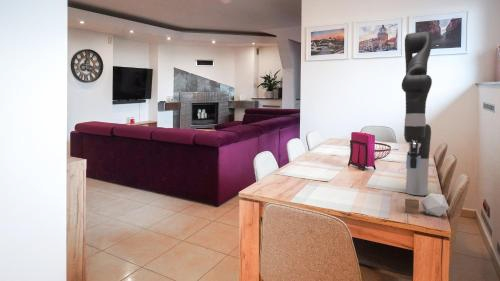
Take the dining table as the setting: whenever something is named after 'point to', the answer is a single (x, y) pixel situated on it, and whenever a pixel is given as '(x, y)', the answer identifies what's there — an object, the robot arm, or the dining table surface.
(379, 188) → the dining table surface
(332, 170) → the dining table surface
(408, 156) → the blue cube
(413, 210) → the walnut cube
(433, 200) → the die
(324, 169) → the dining table surface
